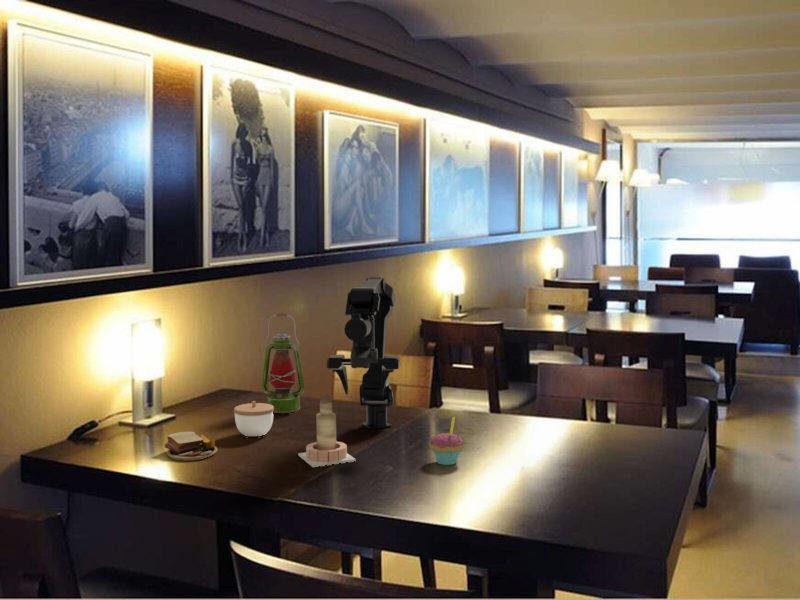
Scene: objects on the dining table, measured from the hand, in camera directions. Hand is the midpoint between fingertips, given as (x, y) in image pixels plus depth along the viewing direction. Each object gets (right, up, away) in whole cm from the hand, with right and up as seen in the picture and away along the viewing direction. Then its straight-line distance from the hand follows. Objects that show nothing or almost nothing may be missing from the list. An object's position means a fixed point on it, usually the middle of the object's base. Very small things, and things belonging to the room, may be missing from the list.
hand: (364, 394), depth 220 cm
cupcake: (+21, -15, -16) cm, 30 cm away
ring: (-9, -14, -13) cm, 21 cm away
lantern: (-27, -10, +39) cm, 49 cm away
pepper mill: (-9, -14, -13) cm, 21 cm away
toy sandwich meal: (-44, -15, -8) cm, 47 cm away
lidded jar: (-31, -13, +10) cm, 35 cm away
